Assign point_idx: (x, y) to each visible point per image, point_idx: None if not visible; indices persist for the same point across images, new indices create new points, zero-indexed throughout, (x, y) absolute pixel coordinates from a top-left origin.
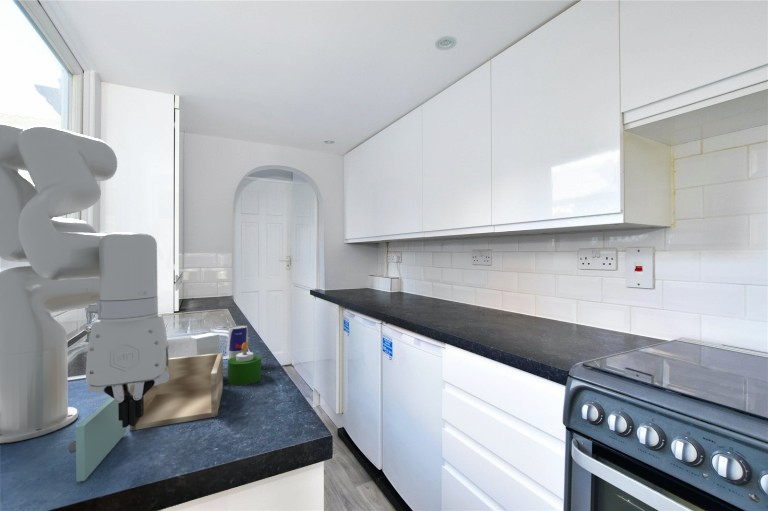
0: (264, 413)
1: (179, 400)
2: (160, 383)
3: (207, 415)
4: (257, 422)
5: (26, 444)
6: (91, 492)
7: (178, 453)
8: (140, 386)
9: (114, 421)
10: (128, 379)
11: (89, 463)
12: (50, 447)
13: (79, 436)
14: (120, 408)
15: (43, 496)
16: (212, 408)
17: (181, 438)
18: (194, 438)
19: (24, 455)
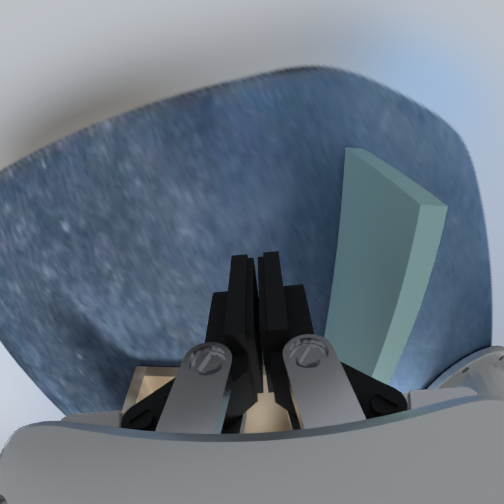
0: (45, 341)
1: (246, 430)
2: (96, 413)
3: (153, 371)
4: (38, 312)
5: (473, 340)
6: (307, 98)
7: (145, 228)
8: (182, 413)
9: (343, 349)
10: (218, 467)
11: (353, 182)
12: (445, 327)
13: (414, 187)
14: (301, 321)
15: (413, 129)
16: (139, 382)
17: (172, 299)
18: (138, 290)
19: (474, 308)
